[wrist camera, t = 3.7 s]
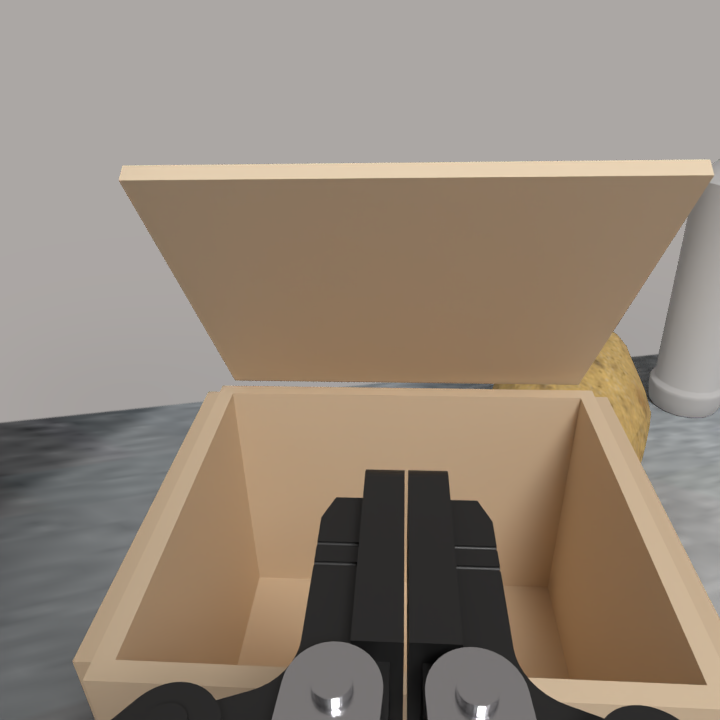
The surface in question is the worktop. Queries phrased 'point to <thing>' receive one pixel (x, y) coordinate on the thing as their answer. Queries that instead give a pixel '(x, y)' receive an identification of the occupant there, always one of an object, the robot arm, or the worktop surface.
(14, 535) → the worktop surface
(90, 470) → the worktop surface
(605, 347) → the potato
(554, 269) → the carton flap
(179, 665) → the carton
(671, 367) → the bottle
